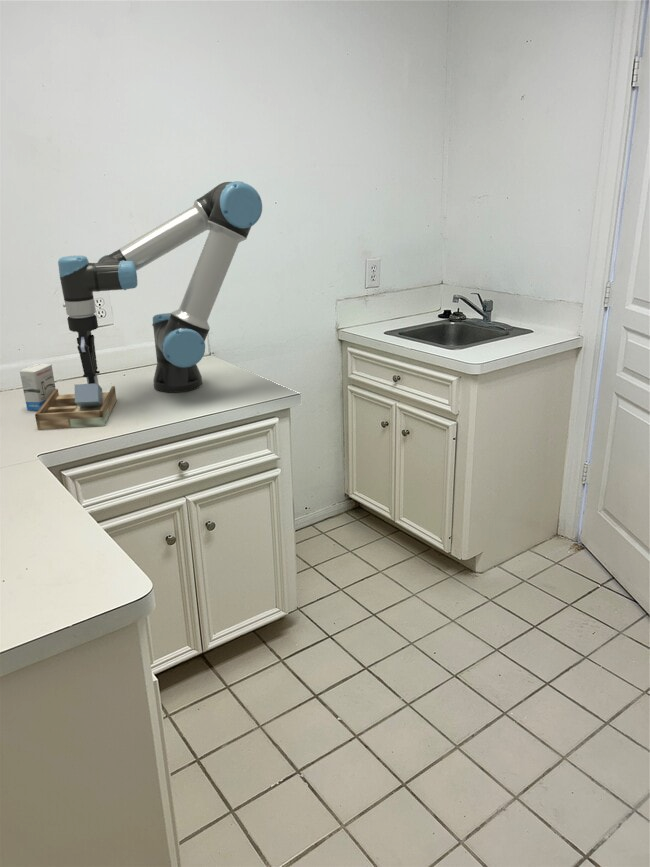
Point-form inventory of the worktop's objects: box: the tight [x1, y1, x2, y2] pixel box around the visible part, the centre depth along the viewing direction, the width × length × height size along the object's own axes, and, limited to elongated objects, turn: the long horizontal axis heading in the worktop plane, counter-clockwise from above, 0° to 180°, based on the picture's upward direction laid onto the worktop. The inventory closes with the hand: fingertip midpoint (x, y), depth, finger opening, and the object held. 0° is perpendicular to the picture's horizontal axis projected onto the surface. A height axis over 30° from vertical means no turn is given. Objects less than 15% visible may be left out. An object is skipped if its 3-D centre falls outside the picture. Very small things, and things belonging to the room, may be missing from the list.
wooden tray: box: [34, 385, 117, 430], centre depth 180 cm, size 17×22×4 cm
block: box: [74, 382, 103, 407], centre depth 176 cm, size 6×6×5 cm
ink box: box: [19, 363, 57, 412], centre depth 185 cm, size 9×5×12 cm, turn 168°
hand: (95, 397), depth 183 cm, fingers closed
